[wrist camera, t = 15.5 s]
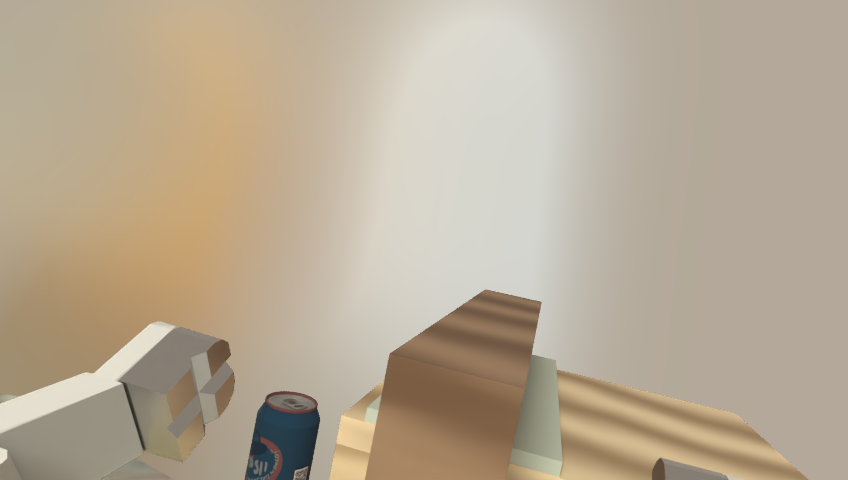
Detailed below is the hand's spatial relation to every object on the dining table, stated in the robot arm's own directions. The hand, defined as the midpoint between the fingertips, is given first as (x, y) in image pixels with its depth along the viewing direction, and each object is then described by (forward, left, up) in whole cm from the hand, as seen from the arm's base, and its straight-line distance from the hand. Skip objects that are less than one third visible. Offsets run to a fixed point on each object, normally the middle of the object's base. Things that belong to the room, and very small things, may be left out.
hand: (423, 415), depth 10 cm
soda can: (-43, +30, -31) cm, 61 cm away
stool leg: (-10, +16, -5) cm, 19 cm away
